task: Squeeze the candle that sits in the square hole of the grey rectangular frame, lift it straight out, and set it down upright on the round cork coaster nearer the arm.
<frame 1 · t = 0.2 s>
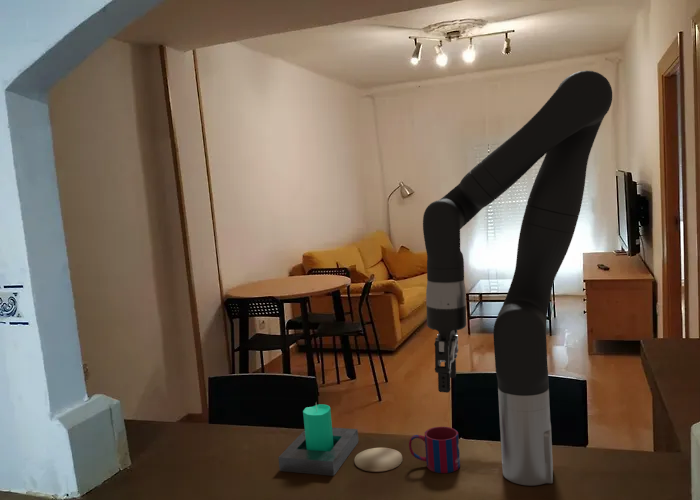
hand: (447, 384, 118), 17 cm above the table, tool pointing down, fingers open, 8 cm apart
cork coaster: (378, 460, 126), on the table
candle: (320, 456, 131), resting in grey rectangular frame
mug: (435, 466, 123), on the table
grey rectangular frame: (320, 455, 131), on the table
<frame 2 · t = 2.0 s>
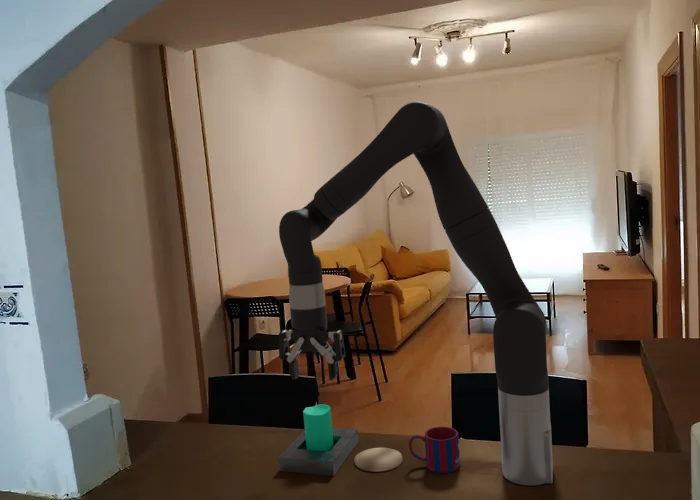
hand: (313, 378, 129), 17 cm above the table, tool pointing down, fingers open, 8 cm apart
nothing on the table moved.
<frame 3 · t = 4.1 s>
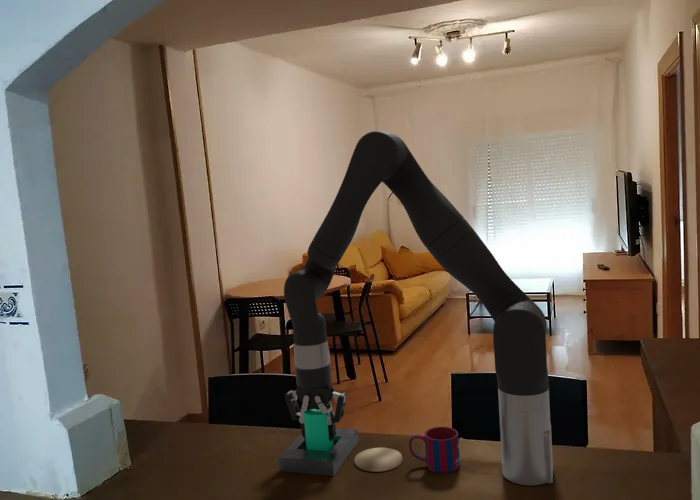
hand: (319, 438, 130), 4 cm above the table, tool pointing down, fingers closed on candle, 4 cm apart
candle: (320, 456, 131), resting in grey rectangular frame, touching gripper
everything else where it was.
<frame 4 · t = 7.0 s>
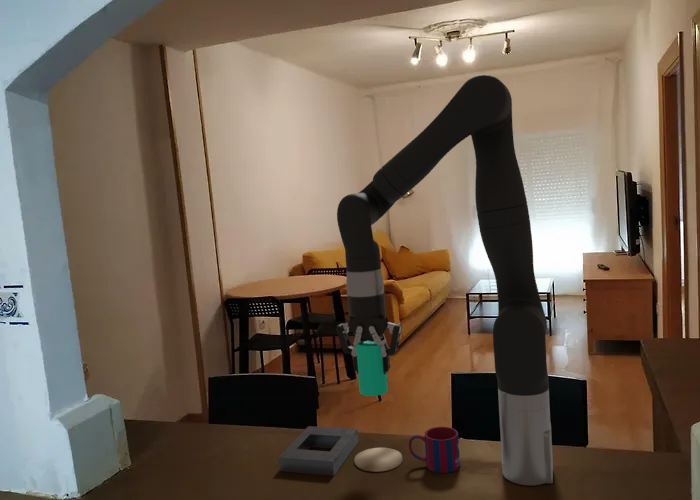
hand: (372, 372, 124), 19 cm above the table, tool pointing down, fingers closed on candle, 4 cm apart
candle: (373, 391, 125), point 15 cm above the table, touching gripper
everything else where it was.
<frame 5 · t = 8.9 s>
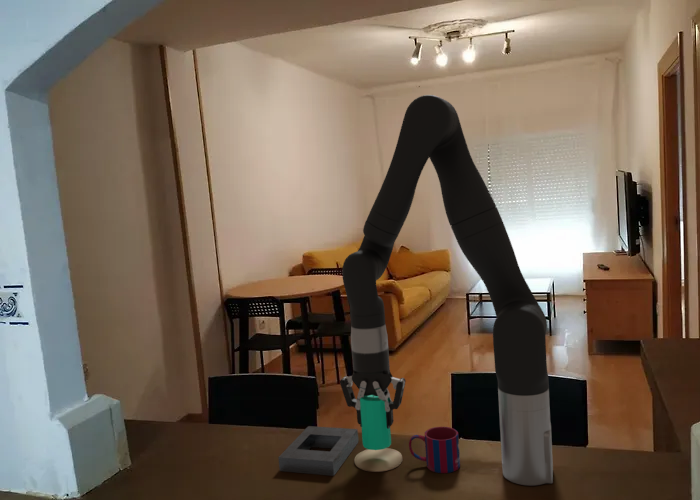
hand: (375, 426, 126), 7 cm above the table, tool pointing down, fingers closed on candle, 4 cm apart
candle: (377, 444, 126), point 3 cm above the table, touching gripper
everything else where it was.
when the fingers open (5 cm above the table, at t = 10.3 s): candle stays where it is, resting on cork coaster.
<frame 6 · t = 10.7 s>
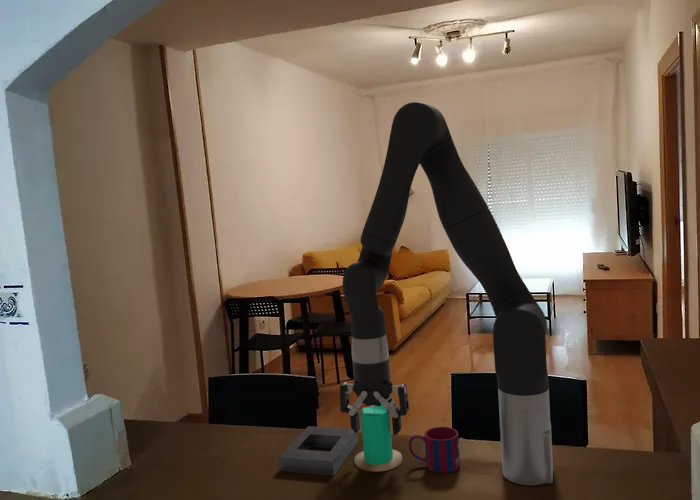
hand: (376, 432, 126), 6 cm above the table, tool pointing down, fingers open, 8 cm apart
candle: (378, 458, 126), resting on cork coaster
everything else where it was.
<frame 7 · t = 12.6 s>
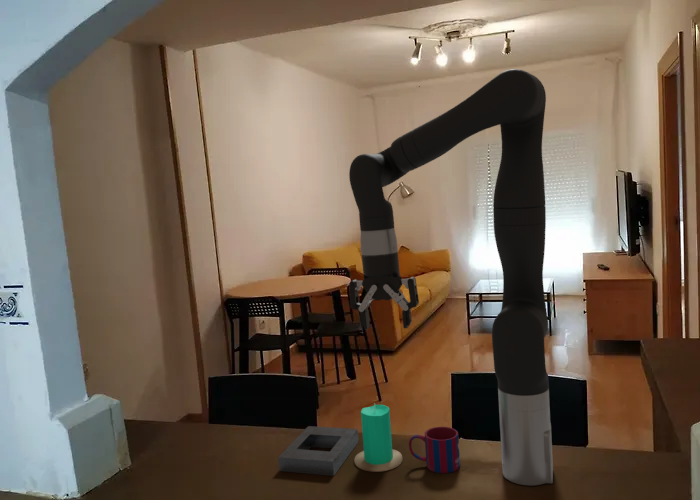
hand: (386, 328, 126), 27 cm above the table, tool pointing down, fingers open, 8 cm apart
nothing on the table moved.
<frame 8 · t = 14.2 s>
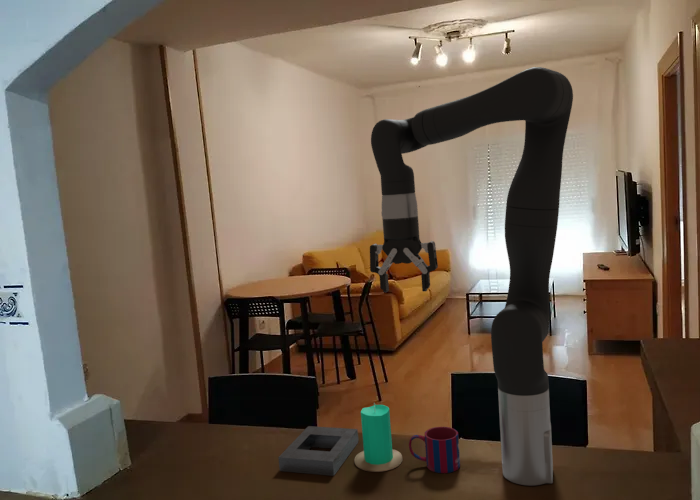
hand: (405, 291, 129), 34 cm above the table, tool pointing down, fingers open, 8 cm apart
nothing on the table moved.
at the end: candle 0.1 cm from the cork coaster (horizontally); candle tilted 0°; candle touching cork coaster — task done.
